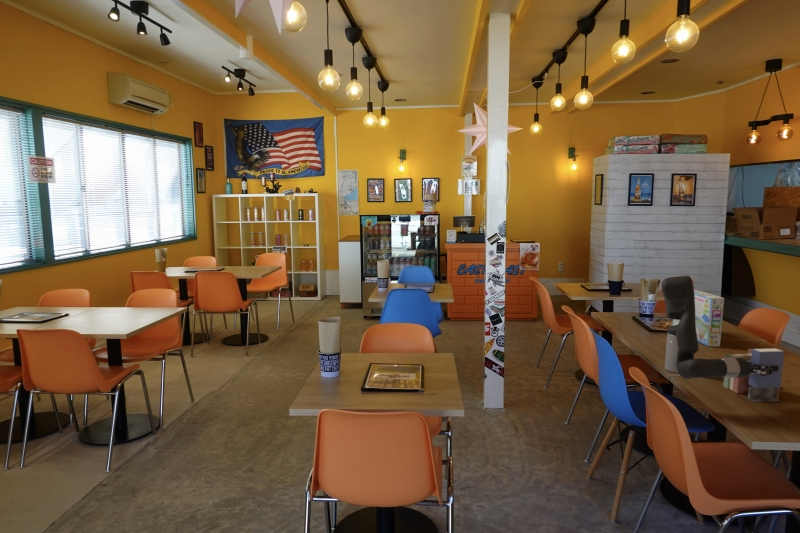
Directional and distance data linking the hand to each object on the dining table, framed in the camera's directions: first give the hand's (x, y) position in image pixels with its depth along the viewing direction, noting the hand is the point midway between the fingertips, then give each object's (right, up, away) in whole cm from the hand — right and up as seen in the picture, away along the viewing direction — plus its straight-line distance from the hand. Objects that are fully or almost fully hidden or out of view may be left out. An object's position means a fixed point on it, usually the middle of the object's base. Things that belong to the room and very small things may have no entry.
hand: (772, 366), depth 203 cm
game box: (+29, -3, +105) cm, 109 cm away
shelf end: (+2, -14, +15) cm, 21 cm away
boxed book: (-3, -8, +1) cm, 8 cm away
